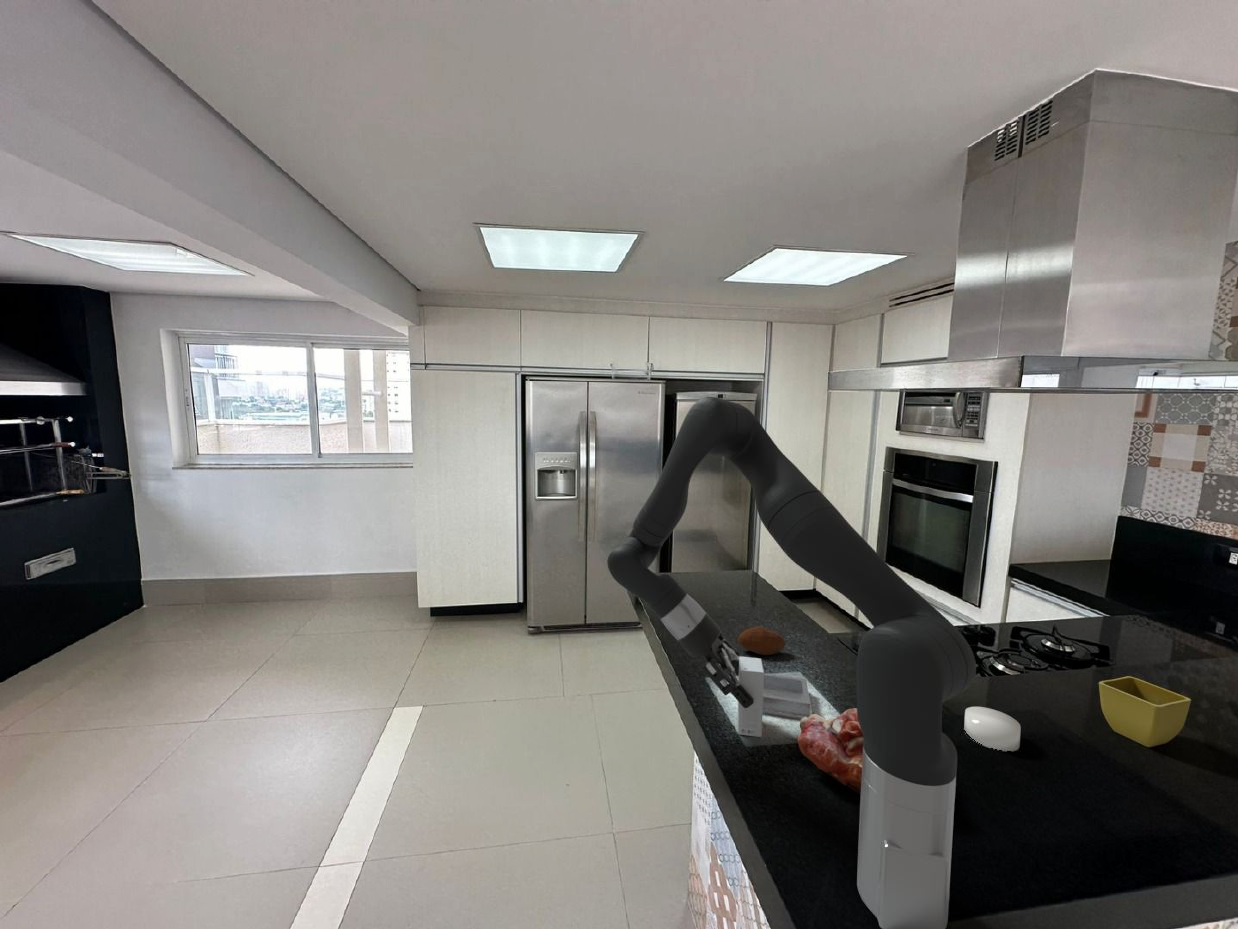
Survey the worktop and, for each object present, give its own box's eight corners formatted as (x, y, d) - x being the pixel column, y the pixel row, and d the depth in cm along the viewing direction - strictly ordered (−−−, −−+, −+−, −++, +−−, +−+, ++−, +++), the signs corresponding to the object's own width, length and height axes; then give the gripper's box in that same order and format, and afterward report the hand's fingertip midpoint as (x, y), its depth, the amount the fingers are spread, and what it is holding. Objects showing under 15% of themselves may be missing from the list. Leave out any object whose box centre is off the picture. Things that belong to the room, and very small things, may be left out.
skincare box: (762, 738, 88) (764, 673, 87) (737, 735, 89) (739, 670, 88) (759, 719, 94) (761, 657, 93) (736, 716, 95) (738, 655, 94)
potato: (788, 659, 119) (789, 633, 119) (740, 657, 120) (741, 631, 120) (781, 648, 125) (782, 623, 125) (735, 647, 126) (736, 622, 126)
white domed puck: (1028, 756, 84) (1030, 736, 84) (974, 747, 87) (975, 727, 86) (1006, 729, 92) (1007, 710, 92) (957, 722, 94) (958, 703, 94)
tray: (812, 721, 94) (813, 705, 93) (742, 709, 97) (742, 694, 97) (807, 692, 104) (808, 678, 104) (744, 682, 108) (744, 669, 108)
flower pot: (1154, 757, 84) (1159, 706, 84) (1093, 727, 93) (1097, 681, 92) (1188, 749, 87) (1192, 699, 86) (1126, 721, 95) (1129, 675, 95)
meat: (786, 719, 95) (787, 668, 94) (908, 735, 90) (911, 682, 89) (801, 797, 74) (803, 733, 74) (960, 823, 70) (964, 755, 69)
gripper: (699, 626, 86) (766, 701, 83) (708, 600, 99) (766, 663, 97) (668, 652, 88) (733, 726, 85) (681, 622, 101) (737, 685, 99)
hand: (750, 692), depth 91 cm, fingers open, 8 cm apart
